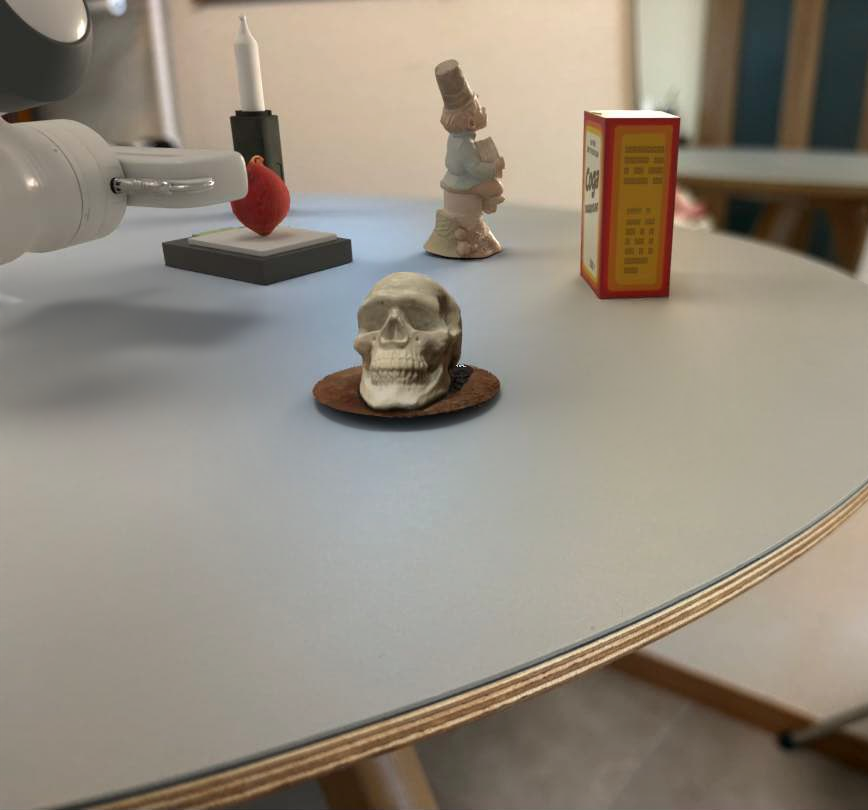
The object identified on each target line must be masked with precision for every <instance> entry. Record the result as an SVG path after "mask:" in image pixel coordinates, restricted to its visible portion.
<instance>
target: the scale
mask: <svg viewBox="0 0 868 810" xmlns="http://www.w3.org/2000/svg"><path fill="white" fill-rule="evenodd" d="M161 246H162V252H163V259H164V265H165V266H167V267H172V268H176V269H183V270H188V271H192V272H197V273H202V274H207V275H212V276H217V277H222V278H226V279H230V280H231V279H232V280H236V281H242V282H247V283H251V284H257V285H262V286H267V285H271V284H274V283H278V282H282V281H286V280H289V279H293V278H297V277H300V276H305V275H309V274H312V273H315V272H319V271H323V270H326V269H330V268H334V267H338V266H341V265H345V264H348V263H353V260H354V258H353V246H352V239H351V238H345V237H339V236H338V234H337V233H332V232H326V231H319V230H313V229H312V230H311V229H306V228H305V229H304V228H297V227H292V226H286V225H285V226H284V225H280V224H279V225H278V226H277V227H276V228H275V229H274V230H273V231H272V233H271V234H270V235H268V236H261V235H259V234H257V233H255V232H254V231H252V230H250V229H249V228H247V227H246V226H244V225H243V226H239V227H233V226H227V227H223V228H218V229H213V230H208V231H207V230H206V231H202V232H197V233H192V234H191V236H189V237H183V238H178V239H173V240H168V241H163V242H161Z"/></svg>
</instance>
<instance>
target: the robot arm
mask: <svg viewBox="0 0 868 810" xmlns="http://www.w3.org/2000/svg"><path fill="white" fill-rule="evenodd" d="M93 31H94V30H93V22H92V17H91V12H90V9H89V6H88V2H87V0H0V266H4V265H6V264H10V263H12V262H14V261H16V260H17V259H19V258H21V256H23V255H24V254H25V253H33V254H45V253H51V252H55V251H59V250H63V249H67V248H71V247H75V246H78V245H81V244H85V243H89V242H92V241H96V240H100V239H103V238H106V237H107V236H110V235H111V234H112V233H113V232H114V231H116V229H117V228H118V227H119V226H120V224H121V223H122V222H123V219H124V217H125V214H126V211H127V207H137V208H139V207H140V208H155V209H159V208H160V209H194V208H195V209H196V208H202V207H207V206H208V207H209V206H213V205H219V204H224V203H228V202H229V203H230V201H235V200H239V199H242V198H244V197H245V196H246V195H247V193H248V179H247V171H246V165H245V161H244V158H243V156H242V155H241V154H240V153H239V152H236V151H234V150H225V149H224V150H220V149H197V148H174V147H152V146H151V147H150V146H130V145H129V146H128V145H109V143H108V142H107V141H106V140H105V139H104V137H102V136H101V135H100V134H99V133H98V132H96V131H95V130H94V129H92V128H91V127H89V126H88V125H86V124H84V123H81V122H79V121H77V120H72V119H67V118H58V119H46V120H45V119H44V120H35V121H25V122H14V123H9V122H8V121H6V120H5V119H4V118H2V116H5V115H6V114H11V113H16V112H21V111H24V110H28V109H33V108H37V107H41V106H45V105H48V104H53V103H57V102H60V101H63V100H65V99H67V98H69V97H71V96H73V95H74V94H75V93H76V92H77V91H78V90H79V89H80V88H81V86H82V85H83V83H84V81H85V80H86V78H87V74H88V73H89V69H90V65H91V60H92V52H93V43H94V32H93Z"/></svg>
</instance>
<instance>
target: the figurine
mask: <svg viewBox="0 0 868 810" xmlns="http://www.w3.org/2000/svg"><path fill="white" fill-rule="evenodd" d="M434 76H435V80H436V83H437V88H438V89H439V93H440V95H441V98H442V102H443V107H442V111H441V112H442V113H441V117H440V120H439V122H440V124H441V125H442V126H443V128H444V130H445V131H446V132H447V133H448V134H449V135H448V136H447V140H446V153H445V157H444V165H445V168H446V169H447V171H446V172H445V174H444V176H443V178H442V179H441V180H440V182H439V185H440V188H441V189H442V190H443V208H442V209H437V210H436V212H435V224H434V229H433V231H432V232H431V233H430V236H429V237H428V239H427V240H426V242H425V243H424V244H423V245H422V248H423V250H425V251H426V252H428V253H431V254H434V255H438V256H443V257H448V258H457V259H458V258H459V259H461V258H466V259H470V258H471V259H478V258H488V257H489V256H491V255H494V254H497V253H499V252H501V251H502V247H501V244H500V243H499V241H498V240H497V239H496V238H495V236H494V234H493V233H492V231H491V229H490V228H489V225H488V224H487V223H486V222H485V219H484V218H483V216H484V213H485V214H487V215H492V214H495V213H496V212H497V209H498V205H500V204H503V203H504V202H505V200H506V198H505V195H503V193H504V185H503V184H502V183H501V181H500V180H501V179H502V178H503V170H506V169H507V168H506V167H507V164H506V160H505V157H504V156H500V153H499V150H498V148H497V145H496V143H495V140H494V139H493V137H492V136H488V137H485V138H484V139H480V140H477V141H475V140H476V137H477V131H479V130H483V129H485V128H487V126H488V121H489V115H488V113H487V112H486V111H487V107H486V106H481V105H480V101H479V98H480V96H479V94H476V92H475V91H473V90H472V88H471V86H470V85H469V82H468V80H467V78H466V76H465V74H464V72H463V69H462V67H461V65H460V63H459V62H458V60H456V59H454V58H453V59H447V60H444V61H442V62H440V63H438V64H437V65H436V66H435V68H434Z"/></svg>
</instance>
